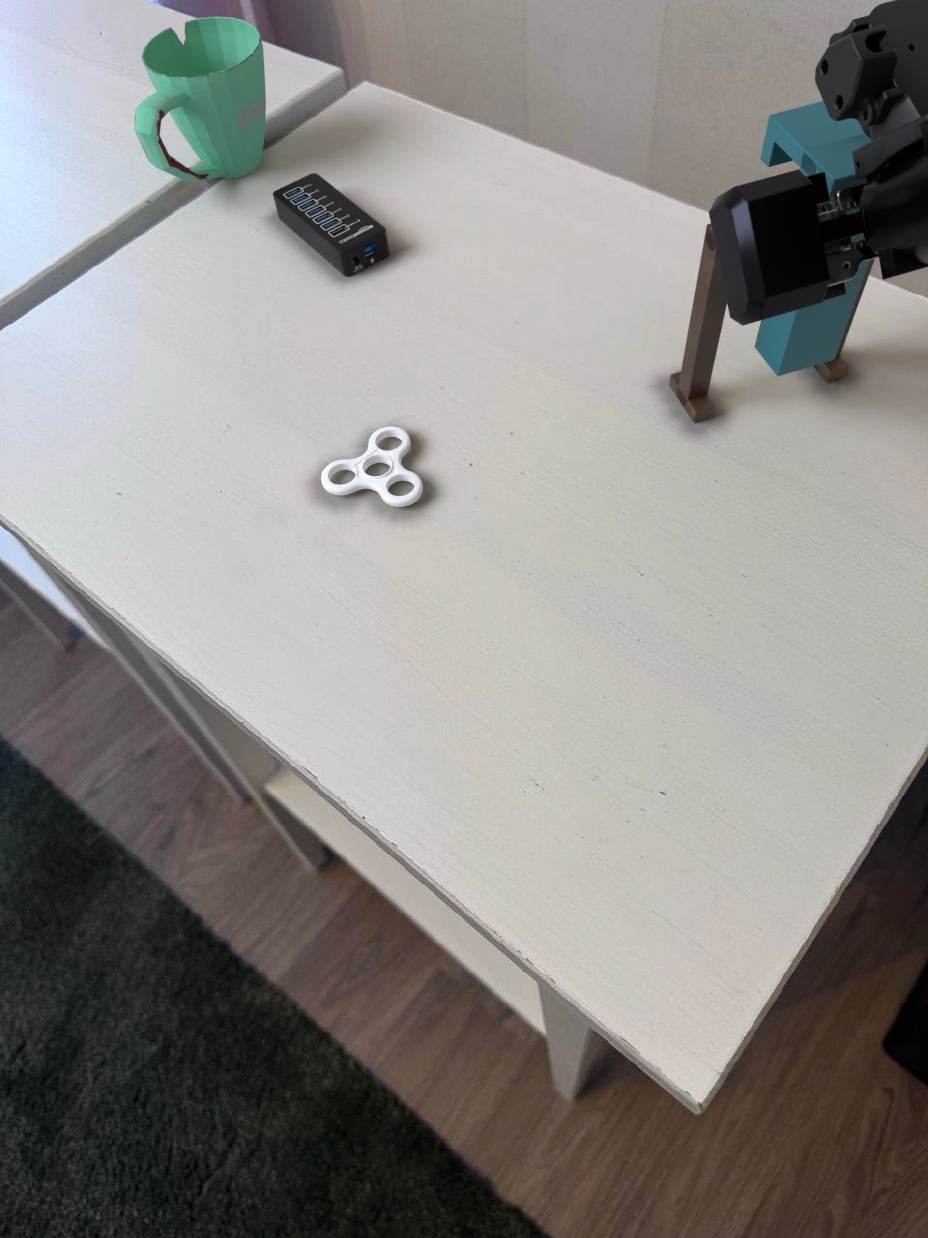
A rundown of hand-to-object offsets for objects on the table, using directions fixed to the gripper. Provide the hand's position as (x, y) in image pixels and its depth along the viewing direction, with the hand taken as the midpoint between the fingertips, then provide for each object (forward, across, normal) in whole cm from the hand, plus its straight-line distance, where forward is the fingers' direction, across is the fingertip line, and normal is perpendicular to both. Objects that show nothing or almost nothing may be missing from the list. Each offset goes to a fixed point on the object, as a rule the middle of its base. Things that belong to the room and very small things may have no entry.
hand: (809, 249), depth 52 cm
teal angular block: (+5, 0, +4) cm, 7 cm away
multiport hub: (+29, +24, -13) cm, 40 cm away
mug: (+38, +31, -22) cm, 54 cm away
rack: (+9, 0, +7) cm, 12 cm away
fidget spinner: (+10, +27, +6) cm, 29 cm away
